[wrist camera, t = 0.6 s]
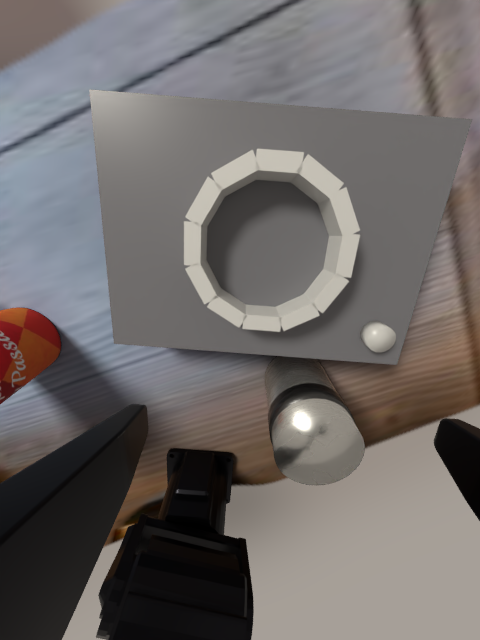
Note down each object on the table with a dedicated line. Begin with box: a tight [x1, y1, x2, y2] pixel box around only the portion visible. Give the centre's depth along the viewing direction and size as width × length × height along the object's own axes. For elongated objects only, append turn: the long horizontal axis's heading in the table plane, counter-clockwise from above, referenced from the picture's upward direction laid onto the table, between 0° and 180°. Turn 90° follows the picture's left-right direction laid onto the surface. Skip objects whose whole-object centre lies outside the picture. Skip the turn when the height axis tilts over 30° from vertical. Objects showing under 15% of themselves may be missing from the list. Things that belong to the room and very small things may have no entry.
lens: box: [265, 356, 365, 485], centre depth 18 cm, size 5×5×8 cm
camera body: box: [90, 90, 472, 365], centre depth 15 cm, size 13×18×7 cm
